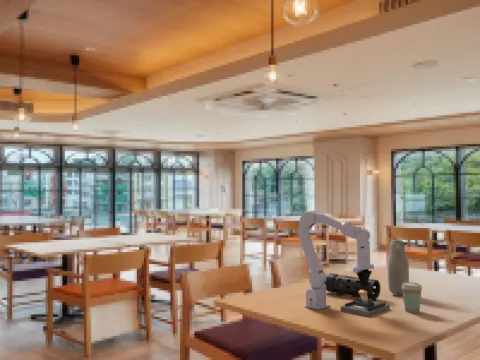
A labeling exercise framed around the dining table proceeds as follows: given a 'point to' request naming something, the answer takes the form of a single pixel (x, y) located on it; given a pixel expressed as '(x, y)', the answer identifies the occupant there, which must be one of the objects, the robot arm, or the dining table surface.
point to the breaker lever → (363, 295)
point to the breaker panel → (365, 307)
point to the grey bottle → (397, 267)
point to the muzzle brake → (351, 286)
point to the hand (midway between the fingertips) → (363, 286)
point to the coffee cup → (412, 296)
